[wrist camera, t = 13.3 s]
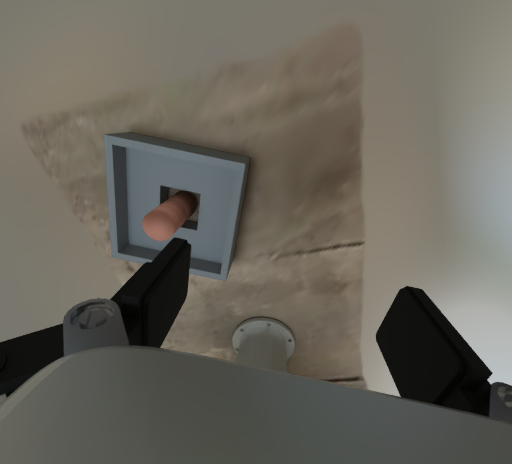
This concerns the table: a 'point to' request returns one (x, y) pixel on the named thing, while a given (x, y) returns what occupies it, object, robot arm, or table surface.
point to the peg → (169, 216)
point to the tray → (156, 192)
